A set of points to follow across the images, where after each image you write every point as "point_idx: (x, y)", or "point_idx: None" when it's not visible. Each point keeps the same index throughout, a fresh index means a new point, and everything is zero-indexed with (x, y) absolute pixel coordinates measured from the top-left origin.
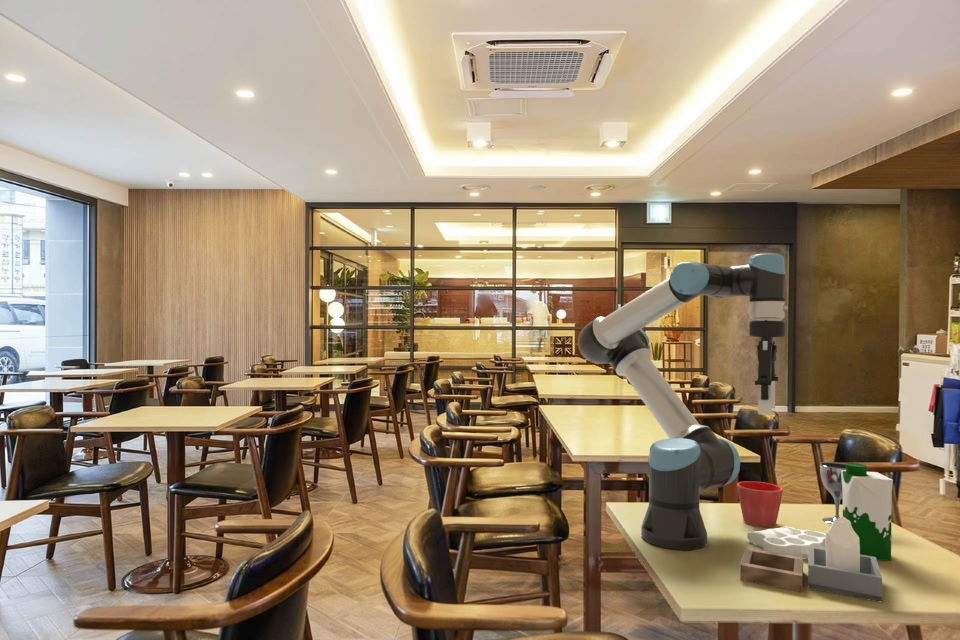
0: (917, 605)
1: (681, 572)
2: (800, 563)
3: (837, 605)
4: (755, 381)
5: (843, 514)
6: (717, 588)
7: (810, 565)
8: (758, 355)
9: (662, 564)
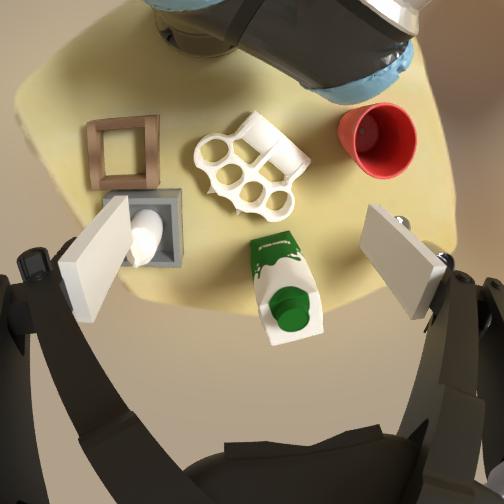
0: (134, 278)
1: (83, 57)
2: (131, 186)
3: (87, 216)
4: (18, 261)
5: (282, 254)
6: (60, 105)
7: (103, 201)
8: (98, 474)
9: (98, 30)
